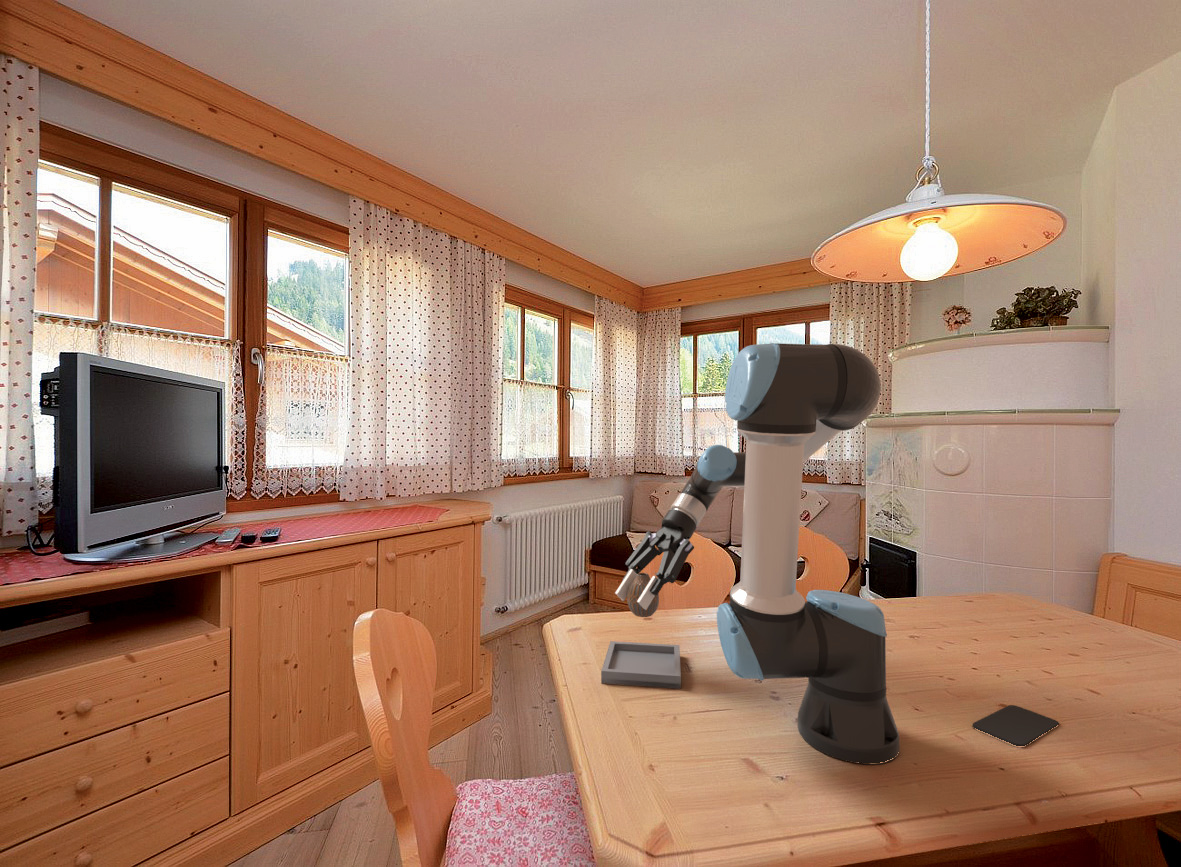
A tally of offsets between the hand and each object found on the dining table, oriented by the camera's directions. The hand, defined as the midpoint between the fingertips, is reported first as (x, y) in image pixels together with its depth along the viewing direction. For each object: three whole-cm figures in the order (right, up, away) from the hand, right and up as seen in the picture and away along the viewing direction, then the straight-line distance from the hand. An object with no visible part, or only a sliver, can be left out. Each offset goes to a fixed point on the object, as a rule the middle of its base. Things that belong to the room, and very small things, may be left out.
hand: (630, 601), depth 110 cm
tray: (+3, -15, +2) cm, 16 cm away
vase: (+3, -4, +2) cm, 5 cm away
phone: (+65, -15, -21) cm, 70 cm away
